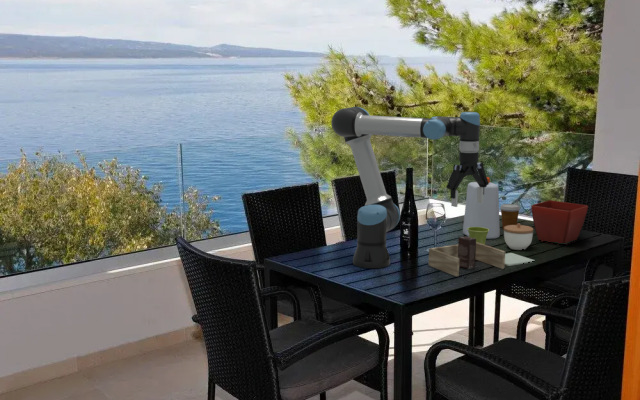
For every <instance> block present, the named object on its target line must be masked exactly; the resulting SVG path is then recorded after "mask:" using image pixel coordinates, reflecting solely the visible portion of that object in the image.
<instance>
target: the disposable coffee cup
mask: <svg viewBox="0 0 640 400" xmlns="http://www.w3.org/2000/svg"><path fill="white" fill-rule="evenodd" d="M499 210H500V213H501V214H500V215H501V226H502V230H503V231H504V227H505V226H508V225H517V224H518V218H519V214H520V210H521V208H520V205H518V204H512V203H503V204H501V205H500V206H499Z"/></svg>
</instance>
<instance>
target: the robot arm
mask: <svg viewBox="0 0 640 400" xmlns="http://www.w3.org/2000/svg"><path fill="white" fill-rule="evenodd" d="M480 119H481V117H480V114H479V113H478V112H476V111H475V112H474V111H464V112H463V111H462V112H461V113H460V115H459V116H456V117H455V116H438V115H437V116H432V117H431V118H425V117H423V118H422V117H406V116H405V117H404V116H403V117H402V116H388V115H387V116H384V115H370V113H369V111H367V110H366V109H365V108H362V107H360V106H352V107H351V106H350V107H344V108H341V109H338V110H337V111H336V112H335V113H334V114H333V116H332V118H331V128H332V130H333V132H334V133H335V134H336V135H338V136H340V137H342V138H343V139H344V142H345V144H347V145H349V146H350V150H351V153H352V156H353V159H354V162H355V165H356V167H357V168H356V169H357V171H358V174H359V178H360V181H361V184H362V188H363V190H364V191H363V192H364V194H365V197H366V201H365V204H364V206H361V207H360V208H358V210H357V216H356V218H357V219H356V220H357V239H356V240H357V245H356V247H355V251H354V255H353V257H352V265H354V266H355V267H359V268H365V269H380V268H387V267H389V266H390V265H391V257H390V254H389V250H388V247H387V233H388V232H390V231H392V230H393V229H395V228H396V226H397V225H398V223H399V222H400V219H401V212H400V209H399V207H398V206H397V205H396V204H395V203H394V202H393V198H392V196H391V195H389V194H388V193H387V191H386V187H385V185H384V181H383V177H382V175H381V172H380V167H379V165H378V162H377V159H376V155H375V153H374V149H373V145H372V142H371V138H372V136H389V137H404V138H405V137H406V138H422V139H429V140H439V139H441V138H445V137H459V148H458V149H459V151H460V152H459V155H458V161H459V164H453V167H452V172H451V174H450V177H449V180H448V182H447V185H446V189H448V190H450V199H451V201H450V202H451V203H450V205H451V207H455V208H457V207H458V206H459V205H458V202H459V201H458V198H459V191H458V190H457V189H458V188H459V186H460V184H461V182H462V181H463V180H464V178H466V176H468V177H469V176H472V177H473V178H474V180H475V182H477V183H478V185H479V186H480V187H477V203H481V204H482V203H483V195H484V187H487V185H488V184H489V183H488V180H487V177H488V176H487V175H486V172H485V169H484V167H485V166H484V163H483V162H479V158H480V157H479V151H480V150H479V149H480V129H481V123H480V122H481V120H480Z"/></svg>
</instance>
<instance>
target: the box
mask: <svg viewBox="0 0 640 400" xmlns="http://www.w3.org/2000/svg"><path fill="white" fill-rule="evenodd" d="M457 241H458V242H457V245H458V258H459V268H463V269H468V270H471V269H475V268H476V259H475V255H476V238H471V237H468V236H467V235H466V236H459V237H458V240H457Z"/></svg>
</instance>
